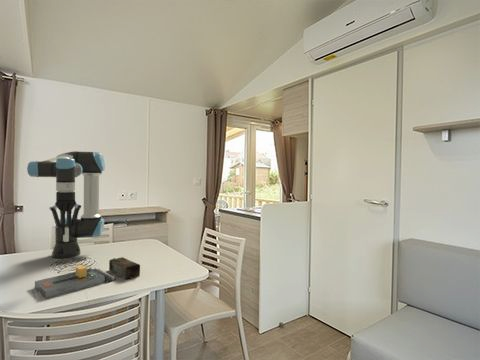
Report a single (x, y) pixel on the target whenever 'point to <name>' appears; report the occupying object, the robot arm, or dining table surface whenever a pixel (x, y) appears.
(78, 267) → the toggle
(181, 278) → the dining table surface
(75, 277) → the breaker panel
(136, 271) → the beverage carton
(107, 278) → the grey rounded bar
